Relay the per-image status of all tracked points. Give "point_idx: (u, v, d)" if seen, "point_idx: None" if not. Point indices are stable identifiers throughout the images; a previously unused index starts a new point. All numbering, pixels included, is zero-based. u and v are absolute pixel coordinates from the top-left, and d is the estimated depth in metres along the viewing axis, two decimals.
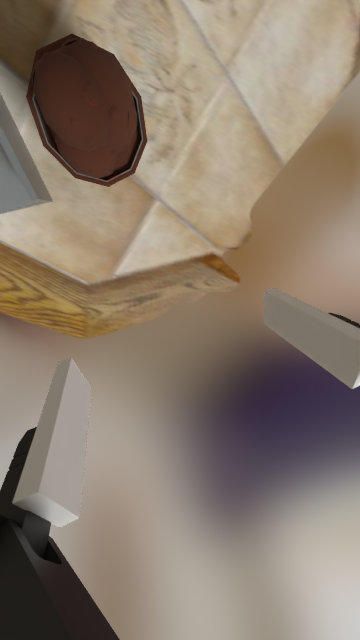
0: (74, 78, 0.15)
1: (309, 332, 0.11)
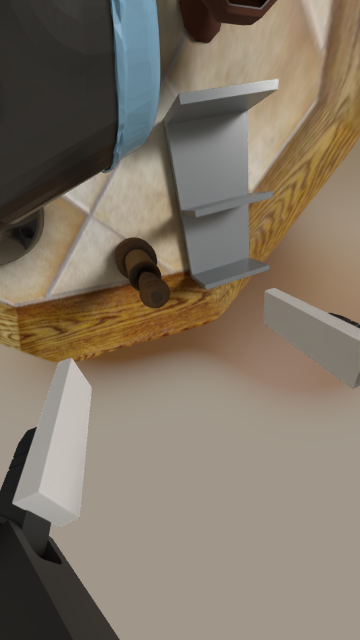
0: None
1: (309, 332, 0.11)
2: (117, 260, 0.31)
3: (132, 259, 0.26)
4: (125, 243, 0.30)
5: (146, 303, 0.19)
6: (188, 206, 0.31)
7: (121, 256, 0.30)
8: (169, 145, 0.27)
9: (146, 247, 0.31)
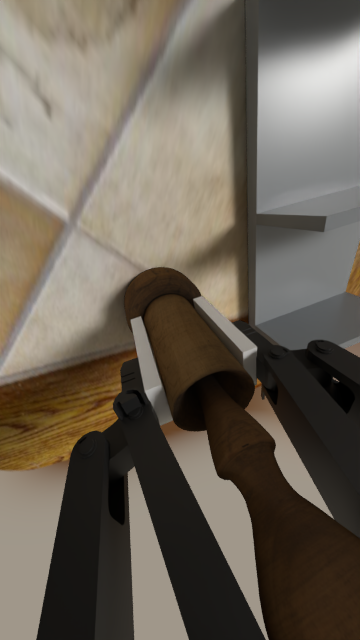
0: None
1: None
2: (129, 316, 0.15)
3: (172, 339, 0.10)
4: (146, 283, 0.14)
5: None
6: (270, 205, 0.16)
7: (136, 310, 0.14)
8: (254, 61, 0.12)
9: (188, 289, 0.15)
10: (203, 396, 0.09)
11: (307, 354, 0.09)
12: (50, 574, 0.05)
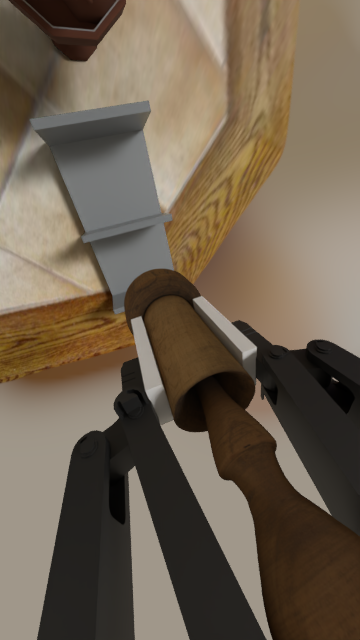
0: None
1: None
2: (128, 317, 0.15)
3: (172, 340, 0.10)
4: (146, 285, 0.14)
5: None
6: (93, 227, 0.30)
7: (137, 311, 0.15)
8: None
9: (188, 290, 0.15)
10: (204, 397, 0.09)
11: (307, 354, 0.09)
12: (51, 574, 0.05)
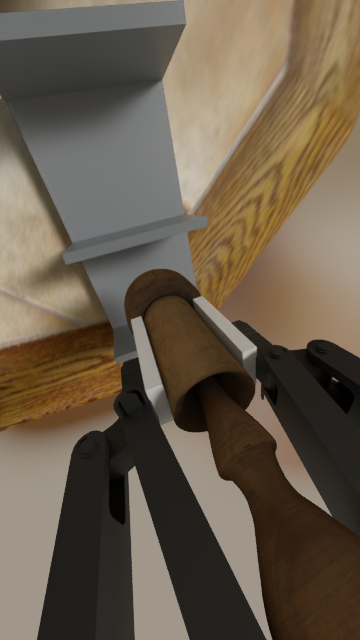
0: None
1: None
2: (129, 317, 0.15)
3: (172, 340, 0.10)
4: (146, 285, 0.14)
5: None
6: (84, 236, 0.20)
7: (137, 311, 0.15)
8: None
9: (188, 290, 0.15)
10: (204, 397, 0.09)
11: (307, 354, 0.09)
12: (51, 574, 0.05)
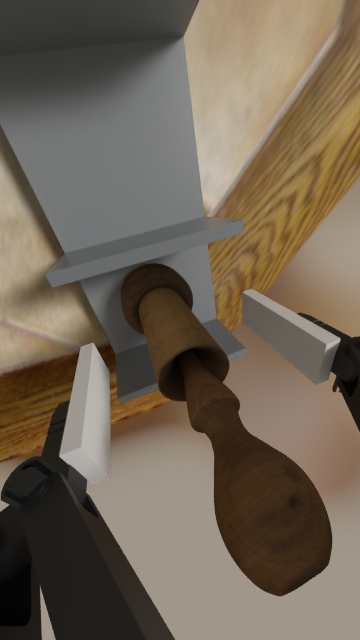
0: None
1: (279, 331, 0.11)
2: (124, 307, 0.17)
3: (160, 324, 0.12)
4: (139, 277, 0.16)
5: None
6: (79, 245, 0.16)
7: (131, 301, 0.16)
8: None
9: (178, 282, 0.17)
10: (184, 369, 0.10)
11: None
12: None
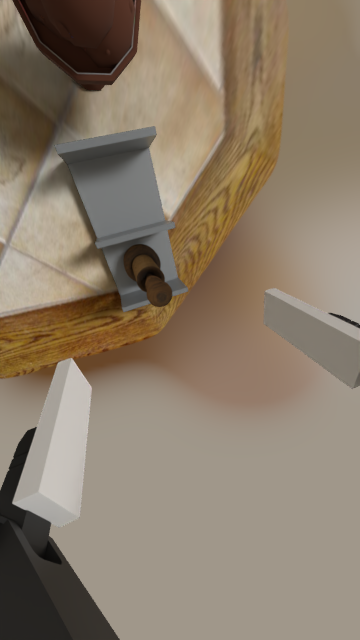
0: None
1: (309, 332, 0.11)
2: (125, 264, 0.34)
3: (139, 264, 0.29)
4: (132, 249, 0.33)
5: (152, 302, 0.22)
6: (104, 234, 0.33)
7: (128, 261, 0.34)
8: (74, 181, 0.29)
9: (151, 252, 0.34)
10: (147, 277, 0.28)
11: None
12: None
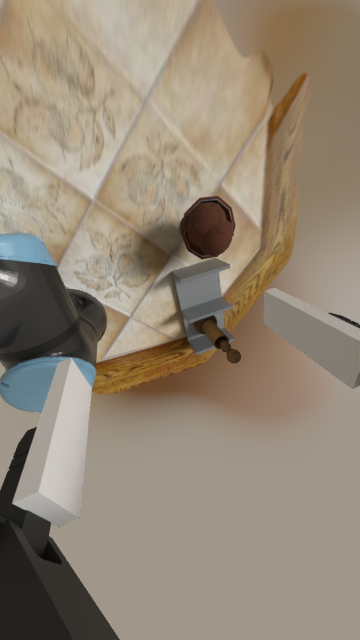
0: (218, 237, 0.33)
1: (309, 332, 0.11)
2: (197, 325, 0.55)
3: (212, 331, 0.50)
4: None
5: (231, 361, 0.43)
6: (185, 308, 0.54)
7: (200, 324, 0.54)
8: (175, 282, 0.50)
9: (213, 318, 0.55)
10: (219, 341, 0.49)
11: None
12: None
